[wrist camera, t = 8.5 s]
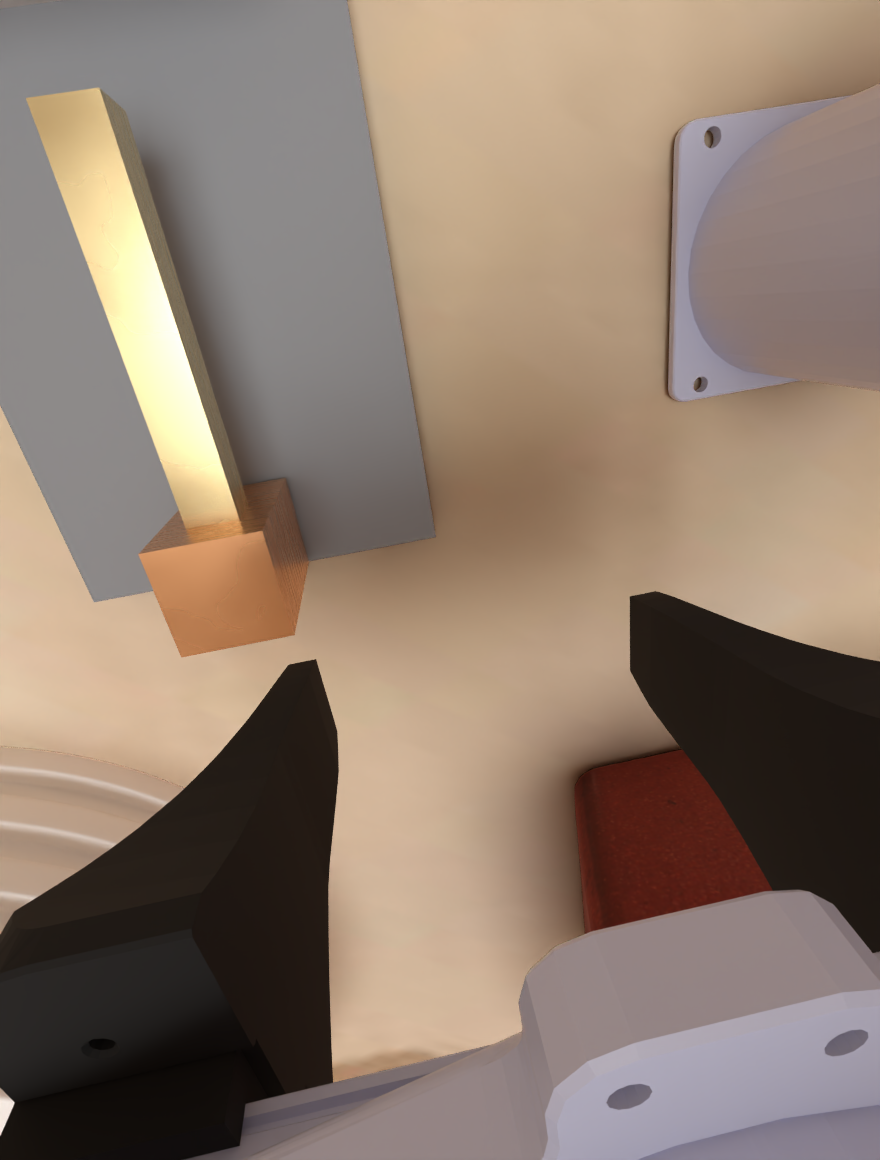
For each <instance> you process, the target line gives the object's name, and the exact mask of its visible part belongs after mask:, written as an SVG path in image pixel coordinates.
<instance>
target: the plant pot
mask: <svg viewBox="0 0 880 1160" xmlns="http://www.w3.org/2000/svg"><path fill="white" fill-rule="evenodd" d="M575 813H576V824H577V834H578V846H579V858H580V871H581V885H582V898H583V912H584V925H585V934H586V933H589V932H592V931H596V930H600V929H604V928H609V927H613V926H617V925H622V924H626V923H630V922H635V921H639V920H643V919H648V918H652V917H656V916H661V915H665V914H669V913H674V912H678V911H682V910H687V909H691V908H695V907H700V906H704V905H708V904H713V903H717V902H721V901H725V900H730V899H734V898H738V897H743V896H747V895H751V894H756V893H760V892H764V891H773V890H772V888H771V886H770V885H769V883H768V881H767V879H766V878H765V876H764V874H763V872H762V871H761V869H760V867H759V865H758V864H757V862H756V860H755V858H754V857H753V855H752V853H751V851H750V850H749V848H748V846H747V844H746V843H745V841H744V839H743V838H742V836H741V834H740V833H739V831H738V829H737V828H736V826H735V824H734V823H733V821H732V819H731V818H730V816H729V814H728V813H727V811H726V810H725V808H724V806H723V805H722V803H721V801H720V800H719V798H718V797H717V795H716V794H715V792H714V791H713V790H712V788H711V787H710V785H709V784H708V782H707V781H706V780H705V778H704V777H703V776H702V775H701V773H700V772H699V771H698V769H697V768H696V767H695V765H694V764H693V763H692V761H691V760H690V759H689V757H688V756H687V755H686V754H685V752H684V751H683V750H677V751H672V752H668V753H664V754H659V755H654V756H650V757H645V758H640V759H635V760H631V761H627V762H622V763H617V764H612V765H607V766H603V767H599V768H595V769H592V770H589V771H588V772H586V773H585V774H583V775H582V776H581V777H580V778H579V779H578V781H577V783H576V785H575Z"/></svg>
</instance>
